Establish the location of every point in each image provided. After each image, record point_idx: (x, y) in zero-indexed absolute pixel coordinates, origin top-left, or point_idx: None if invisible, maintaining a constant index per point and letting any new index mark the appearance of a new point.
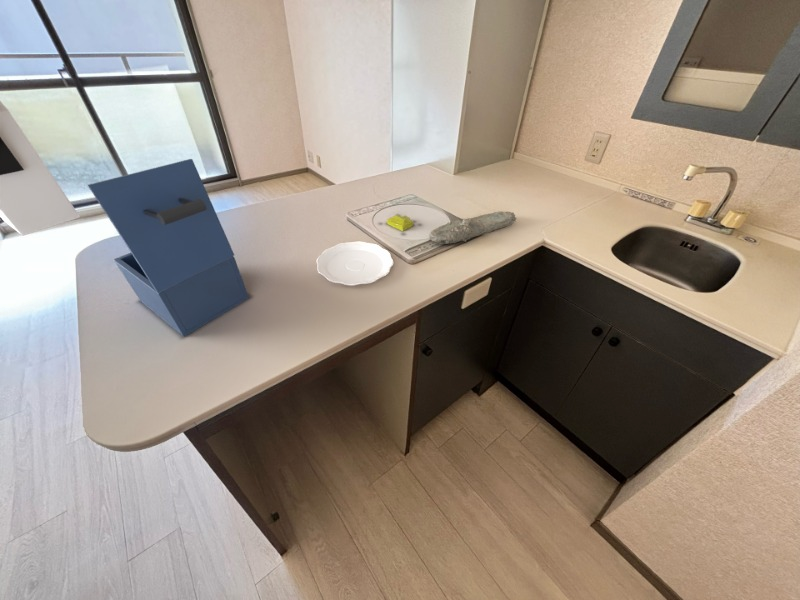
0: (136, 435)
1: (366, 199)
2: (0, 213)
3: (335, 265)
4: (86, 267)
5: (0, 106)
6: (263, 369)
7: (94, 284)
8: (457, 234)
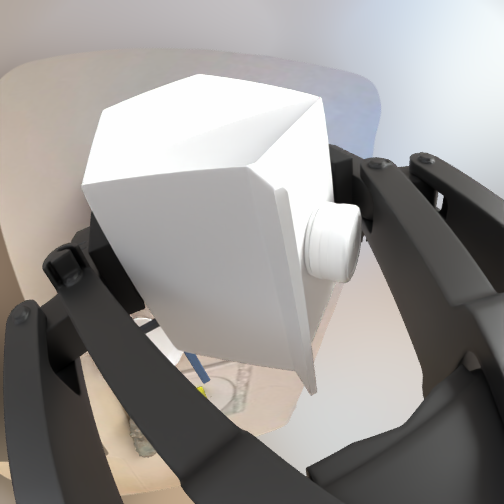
0: None
1: (265, 378)
2: (149, 94)
3: (149, 332)
4: (346, 75)
5: (185, 348)
6: (13, 229)
7: (301, 73)
8: (132, 427)
